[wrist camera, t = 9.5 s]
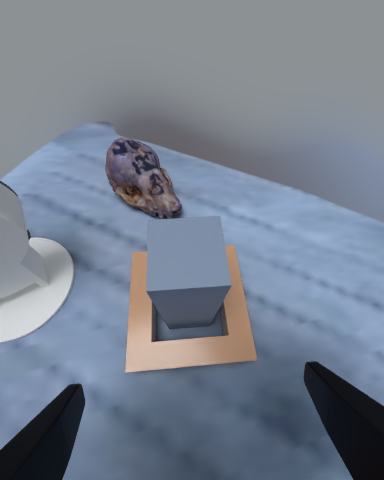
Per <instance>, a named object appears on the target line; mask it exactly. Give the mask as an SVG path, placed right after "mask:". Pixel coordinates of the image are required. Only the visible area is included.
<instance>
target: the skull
mask: <svg viewBox="0 0 384 480" xmlns="http://www.w3.org/2000/svg"><path fill="white" fill-rule="evenodd" d="M105 170H106V174H107V177H108V179H109V180H110V181H109V184H110V185H111V187H113V191H114V192H115V194H116V195H119V196H121V197H122V198H123V200H124V201H125V202H126V203H127V204H128V205H130V206H133V207H137V208H139V209H142V210H143V211H144V212H145V213H146V212H147V213H149V214H150V215H151V216H155V217H156V213H157V214H158V215H159V217H160V218H161V219H163V218H164V215H166V216H167V217H168V218H172V215H176V214H180V211H181V204H180V201H179V199H178V198H177V197H176V196H175V194H174V192H173V190H172V189H171V187H172V185H171V180H170V178H169V176H168V174H167V173H166V170H165V169H163V168H160V163H159V159H158V156H157V154H156V153H155V152H154V151H153V150H152V149H151V147H149V146H147V145H145V144H143V143H140V142H138V141H135V140H133V139H131V138H127V137H123V138H120V139H117V140H115V141H114V142H113V143H112V145H111V146H110V148H109V149H108V151H107V158H106V168H105ZM163 176H164V177H165V178H164V177H163ZM167 181H168V182H167ZM126 190H127V192H128V193H129V195H128V194H126V193H125V191H126ZM132 190H133V191H132Z"/></svg>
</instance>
